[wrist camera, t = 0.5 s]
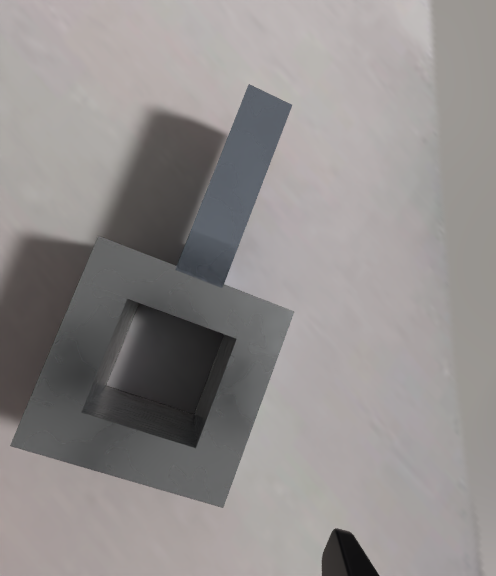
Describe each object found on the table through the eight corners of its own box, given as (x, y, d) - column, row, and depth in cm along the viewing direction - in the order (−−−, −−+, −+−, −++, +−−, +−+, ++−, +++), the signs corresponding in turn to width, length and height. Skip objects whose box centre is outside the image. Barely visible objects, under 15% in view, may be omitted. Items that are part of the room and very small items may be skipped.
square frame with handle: (215, 460, 22) (223, 507, 17) (52, 410, 21) (10, 445, 16) (322, 169, 24) (357, 136, 19) (178, 104, 22) (176, 49, 17)
